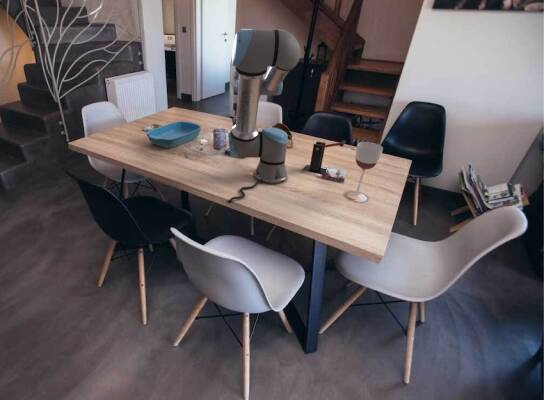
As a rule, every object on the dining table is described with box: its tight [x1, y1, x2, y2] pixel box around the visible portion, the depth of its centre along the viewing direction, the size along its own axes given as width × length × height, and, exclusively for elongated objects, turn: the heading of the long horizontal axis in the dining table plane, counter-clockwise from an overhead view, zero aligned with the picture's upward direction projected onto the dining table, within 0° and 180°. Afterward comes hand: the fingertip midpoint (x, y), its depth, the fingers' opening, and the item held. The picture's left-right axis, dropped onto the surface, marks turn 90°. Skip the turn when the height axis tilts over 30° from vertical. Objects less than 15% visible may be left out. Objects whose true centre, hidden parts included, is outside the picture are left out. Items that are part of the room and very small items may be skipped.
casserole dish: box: [146, 120, 202, 149], centre depth 189 cm, size 37×22×7 cm, turn 146°
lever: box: [318, 139, 347, 149], centre depth 144 cm, size 13×6×2 cm, turn 58°
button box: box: [224, 147, 246, 159], centre depth 173 cm, size 10×12×4 cm
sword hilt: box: [271, 122, 294, 149], centre depth 185 cm, size 10×24×15 cm
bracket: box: [301, 141, 328, 176], centre depth 150 cm, size 11×8×15 cm
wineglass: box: [346, 141, 384, 203], centre depth 127 cm, size 9×10×23 cm
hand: (238, 145), depth 171 cm, fingers closed
